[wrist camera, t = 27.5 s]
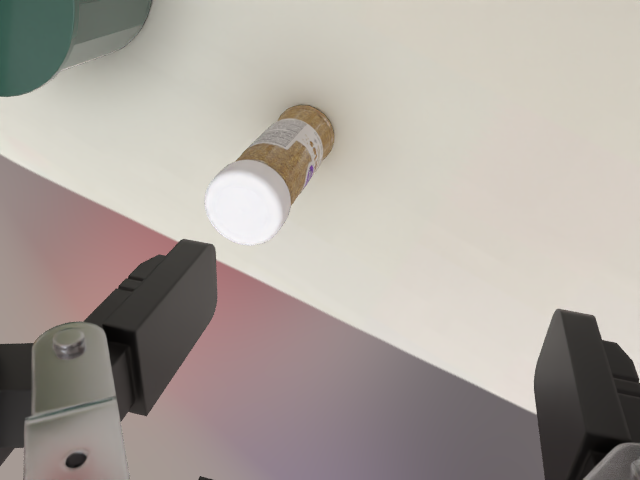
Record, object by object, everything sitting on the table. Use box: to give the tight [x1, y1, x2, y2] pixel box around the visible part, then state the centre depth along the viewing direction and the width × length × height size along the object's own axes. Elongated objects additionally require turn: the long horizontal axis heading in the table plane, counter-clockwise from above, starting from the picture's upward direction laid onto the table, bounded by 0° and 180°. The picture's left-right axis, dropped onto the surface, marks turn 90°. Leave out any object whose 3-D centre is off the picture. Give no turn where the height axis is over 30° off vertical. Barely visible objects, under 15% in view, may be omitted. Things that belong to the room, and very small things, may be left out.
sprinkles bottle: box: [205, 105, 334, 245], centre depth 36 cm, size 5×5×14 cm
